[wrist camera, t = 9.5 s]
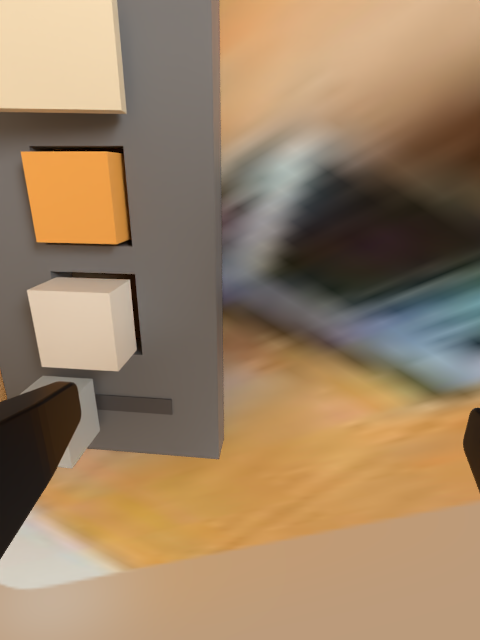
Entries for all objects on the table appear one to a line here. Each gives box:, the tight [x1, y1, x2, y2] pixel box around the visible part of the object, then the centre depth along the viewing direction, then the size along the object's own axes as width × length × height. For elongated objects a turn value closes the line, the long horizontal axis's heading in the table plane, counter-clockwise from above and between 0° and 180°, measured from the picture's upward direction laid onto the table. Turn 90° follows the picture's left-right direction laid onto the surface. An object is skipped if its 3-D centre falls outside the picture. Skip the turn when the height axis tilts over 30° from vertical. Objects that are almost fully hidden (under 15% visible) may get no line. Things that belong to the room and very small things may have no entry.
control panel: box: [0, 0, 224, 459], centre depth 20 cm, size 13×24×3 cm, turn 0°
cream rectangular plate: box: [0, 0, 127, 114], centre depth 15 cm, size 6×4×1 cm, turn 90°
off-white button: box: [27, 277, 137, 371], centre depth 20 cm, size 4×4×2 cm
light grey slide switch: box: [20, 376, 100, 468], centre depth 21 cm, size 3×4×3 cm
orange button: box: [21, 151, 132, 244], centre depth 19 cm, size 4×4×2 cm
